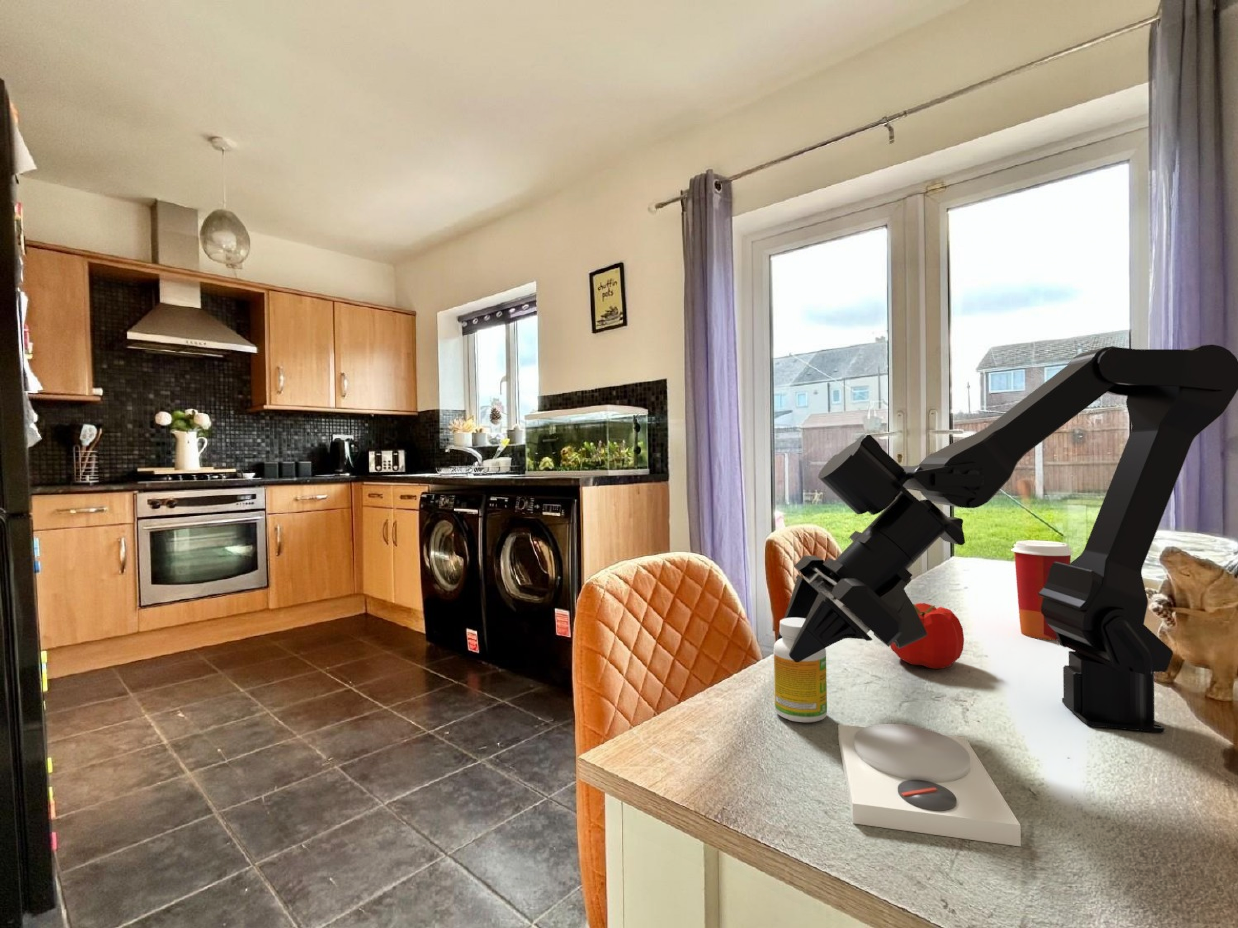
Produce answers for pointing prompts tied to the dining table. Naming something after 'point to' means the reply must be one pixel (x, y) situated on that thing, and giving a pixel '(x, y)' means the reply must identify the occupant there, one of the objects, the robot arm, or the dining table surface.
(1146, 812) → the dining table surface
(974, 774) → the kitchen scale
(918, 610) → the tomato
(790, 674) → the supplement bottle
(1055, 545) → the paper cup
